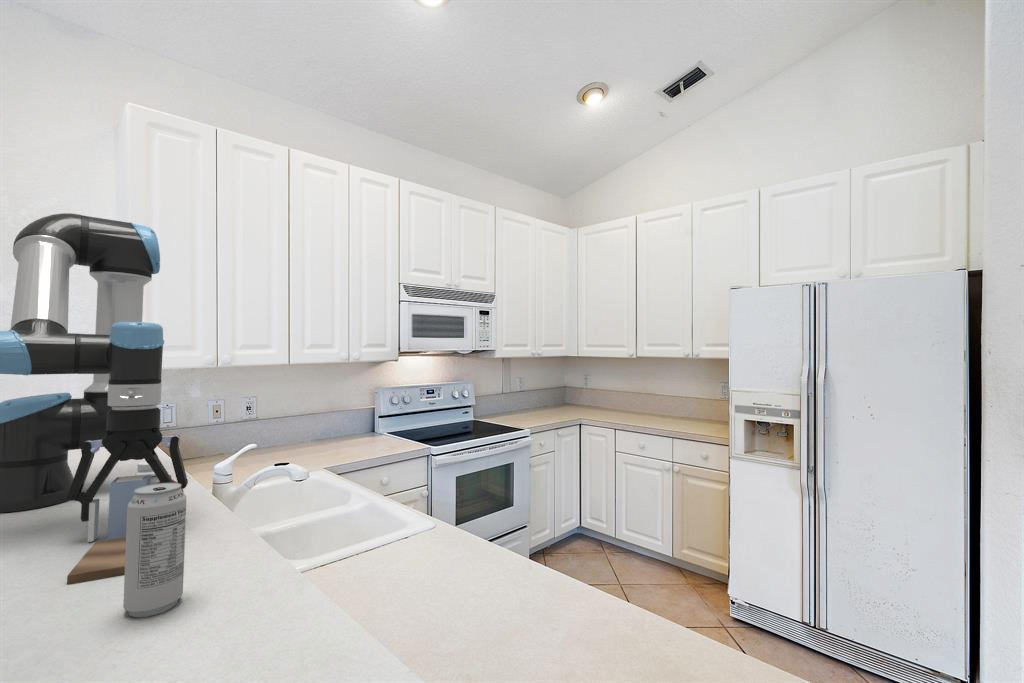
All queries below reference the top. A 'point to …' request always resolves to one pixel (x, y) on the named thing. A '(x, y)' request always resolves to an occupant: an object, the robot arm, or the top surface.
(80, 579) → the board
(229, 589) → the top surface
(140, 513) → the energy drink can
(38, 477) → the robot arm
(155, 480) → the pill bottle
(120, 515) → the block
